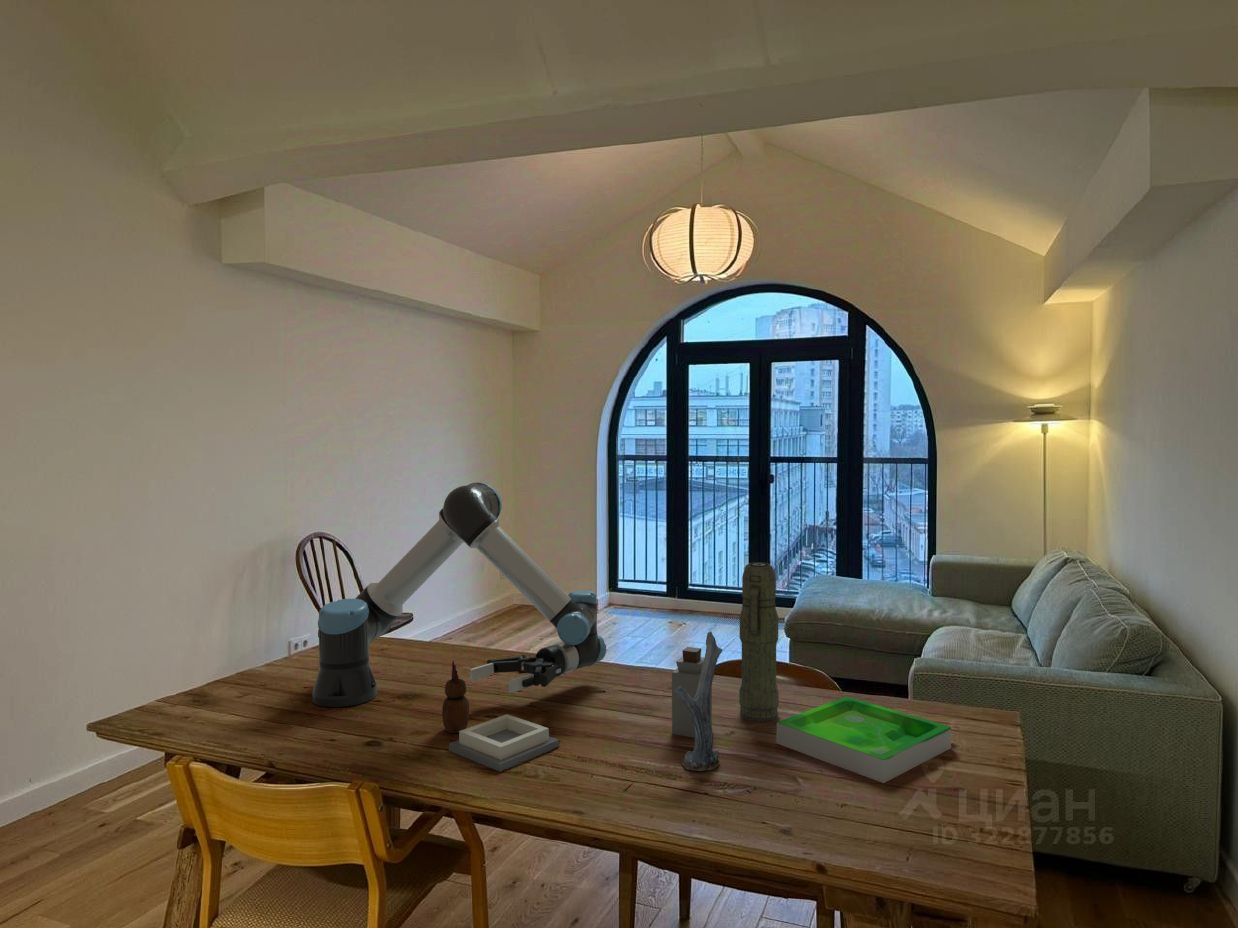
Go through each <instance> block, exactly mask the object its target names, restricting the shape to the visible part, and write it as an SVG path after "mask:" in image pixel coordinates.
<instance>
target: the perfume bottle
mask: <svg viewBox="0 0 1238 928" xmlns="http://www.w3.org/2000/svg"><path fill="white" fill-rule="evenodd" d="M681 652H682V656H681V657H680V658H678V659H677V660H676V661H675V663H676V667H677V668H676V669H675V670H673V671H671V734H672V735H675V736H676V735H677V736H681V737H690V738H694V739H695V731H694V724H693V722H692V719H691V716H690V715H689V712H688V710H687V707H686V705H685V703H683V701H682V700H680V699H679V698H678V696H677V695H676V693H675V689H676V688H677V687H679V686H681V687H683V688H684V690H685V691H686V692H687V693H688V695H689V696H691V697H692V698H693V699H694V697H695V695H696V692H697V688H698V683H699V679H700V675H701V670H702V666H703V662H704V659H705V656H704V657H703V656H702V647H701V648H700V647H691V646H687V647H685V648H683V649H682V651H681ZM712 688H713V686H711V691H710V715H711V716H710V722H711V728H712V727H713V726H712V725H713V724H712V723H713V722H712V721H713V718H712V717H713V716H712V714H713V713H712V711H713V709H712V707H713V698H712V696H713V695H712V693H713V691H712V690H713V689H712ZM712 729H713V728H712Z"/></svg>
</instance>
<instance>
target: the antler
mask: <svg viewBox="0 0 1238 928" xmlns="http://www.w3.org/2000/svg"><path fill="white" fill-rule="evenodd" d="M706 634H707V635H706V637H705V638H706V640H705V645H706V647H705V652H704V653H705V655H704V658H705V659H704V662H703V666H702V670H701V675H700V679H699V683H698V688H697V692H696V695H695V697H694V699H693V698H692V697H691V696H689V695H688V693H687V692H686V691H685V690H684V688H683V687H681V686H679V687H677V688H676V689H675V693H676V695H677V696H678V698H679V699H680V700H682V701H683V703H685V705H686V707H687V710H688V712H689V715H690V716H691V719H692V722H693V724H694V731H695V738H694V746H693V747H694V749H693V751H691V750H688V751H686V754H685V755H684V759H683V760H684V761H683V762H682V763H681V766H683V767H684V768H685V769H686V770H690V771H691V770H692V771H695V772H696V771H697V772H703V771H712V770H715V769H716V768H717V767H718V766H719V765H720V760H719V756H720V755H719V753H720V752H719V750H715V751H713V746H714V745H713V744H714V734H713V730H712V729H713V728H711V722H710V716H711V715H710V691H711V686H712V684H713V679H714V676H715V673H716V672H715V671H716V666H717V663H718V659H719V658H720V656H721V653H722V652H723V649H722V648H721V647H719V646H718V645H717V641H716V637H715V636H714V635H713V633H712V631H708V632H707V633H706ZM712 687H713V686H712Z"/></svg>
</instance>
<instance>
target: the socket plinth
mask: <svg viewBox="0 0 1238 928" xmlns="http://www.w3.org/2000/svg"><path fill="white" fill-rule="evenodd" d="M549 730H550V729H549V728H548V727H546V726H543V725H541V724H537V723H535V722H531V721H529V720H525V719H522V718H519V717H516V716H514V715H511V714H508V713H506V714H504V715H501V716H498V717H495V718H492V719H490V720H487V721H484V722H481V723H479V724H475V725H473V726H469V727H467V728H466V729H464V730H461V731H459V734H458V736H459V737H458V740H455V741H452V742H449V743H448V751H449V752H451V753H453V754H456V755H458V756H461V757H463V758H466V759H468V760H470V761H473V762H476V763H478V764H480V765H483V766H484V767H487V768H490V769H492V770H494V771H497V772H499V773H500V772H501V773H502V772H503V770H504V771H506V770H508V769H510V767H511V768H513V767H515V766H518V765H520V764H522V762H523V763H525V762H527V761H530V760H531V759H534V758H536V756H537V757H539V756H540V755H544V754H546V753H548V752H550V750H551V751H553V750H555V749H557V748H556V747H558V748H559V747H560V739H558V738H555V737H552V736H550V731H549ZM554 748H555V749H554ZM552 749H553V750H552ZM547 751H548V752H547ZM545 752H546V753H545ZM543 753H544V754H543ZM529 759H530V760H529ZM505 769H506V770H505Z"/></svg>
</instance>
